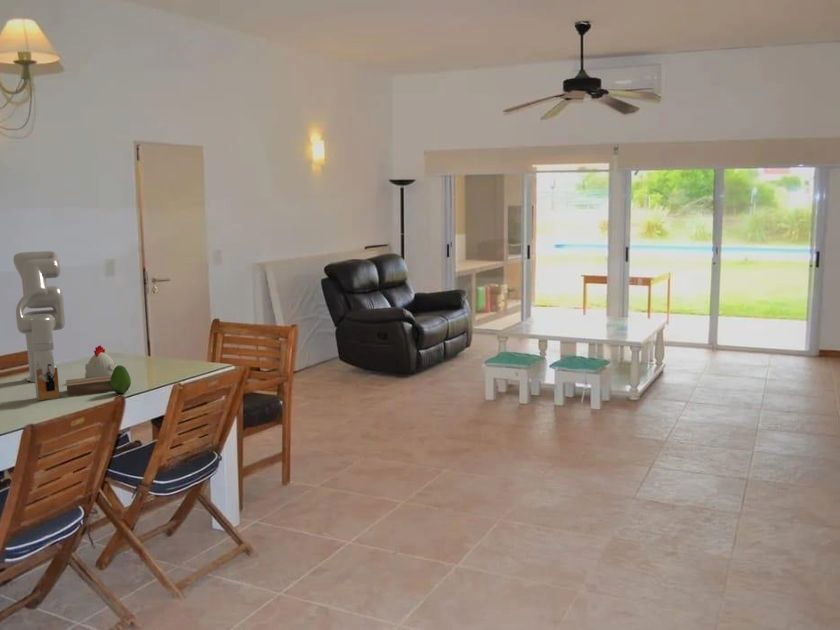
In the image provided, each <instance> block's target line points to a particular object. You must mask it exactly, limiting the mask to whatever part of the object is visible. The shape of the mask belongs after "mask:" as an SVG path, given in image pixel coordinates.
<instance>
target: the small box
mask: <svg viewBox="0 0 840 630" xmlns="http://www.w3.org/2000/svg"><path fill="white" fill-rule="evenodd" d="M54 367H55V373H54V384H55V390H53V391H46V382H47V381H46V377H45V375H44V376H42V375H41V369H39V368H36V367H34V374H35V382H34V385H35V393H36V399H37V398H38V399H37V400H38V401H45V399H46V400H53V398H54V399H60V398H61V397H60V386H59V385H60V383H59V375H58V374H59V372H58V367H57V366H56V364H54ZM47 374H50V373H49V372H47ZM48 377H49V376H48Z"/></svg>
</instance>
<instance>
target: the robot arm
mask: <svg viewBox="0 0 840 630" xmlns="http://www.w3.org/2000/svg"><path fill="white" fill-rule="evenodd" d="M12 261H13V264H14V267H15V269H16V270H17V272H18V274H19V275H20V278H21V284H22V297H21V298H20V299H19V301H18V303H17V304H16V309H15V317H16V319H15V321H16V327H17V330H18V332H19V333H21V334H24V335H25V341H26V349H27V360H28V370H29V371H28V372H29V376H27V377H26V380H27V381H26V382H28V381H30V382H29V383H35V374H34V367H36V368H39V369H41V375H42V376H44V375H45V377H46V381H47V382H46V391H53V390H55V384H54V373H55V367H54V365H55V359H54V355H53V350H55V348H54V339H53V331H60V330H62V329H64V328H65V325H66V319H65V318H66V317H65V307H64V297H63V292H62V290H61V288H60V287H58V286H56V285H55V286H53V285H52V286H49V285H47V280H46V279H56V278H58V277H59V276H60V275H61V265H60V260H59V258H58V255H57V253H56V252H55V251H52V250H51V251H50V250H49V251H46V250H45V251H44V250H43V251H25V252H18V253H15V254H14V256H13V260H12ZM25 308H28V309H42V310H30V311H27V312H26V313H24V310H25ZM47 308H51V309H47ZM43 309H44V310H43ZM47 372H49V373H50V374H47ZM48 376H49V377H48Z"/></svg>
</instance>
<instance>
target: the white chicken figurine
mask: <svg viewBox="0 0 840 630" xmlns="http://www.w3.org/2000/svg"><path fill="white" fill-rule="evenodd" d="M105 352H106V349H105V348H104V347H103V346H102V345H97V346H96V347H95V350H93V353H94V355H92V356H91V358H90V359H89V360H88V363H86V364H85V376H84V378H90V377H99V376H108V375H111V376H112V373H113V371H114V369H115V367H116V366H117V364H116V362H114V360H113V358H111V356H109V355H108V354H107V353H105Z"/></svg>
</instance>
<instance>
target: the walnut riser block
mask: <svg viewBox="0 0 840 630" xmlns="http://www.w3.org/2000/svg"><path fill="white" fill-rule="evenodd" d="M110 379H111V375H108V376H99V377H90V378H85V377H84V378H74V379H66V380H65V383H66V384H65V385H66V393H67V396H68V397H76V396H75V395H77V396H84V395H93V394H100V393H109V392H108V391H111V392H114V391H113V390H112V388H111V385H110Z"/></svg>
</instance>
